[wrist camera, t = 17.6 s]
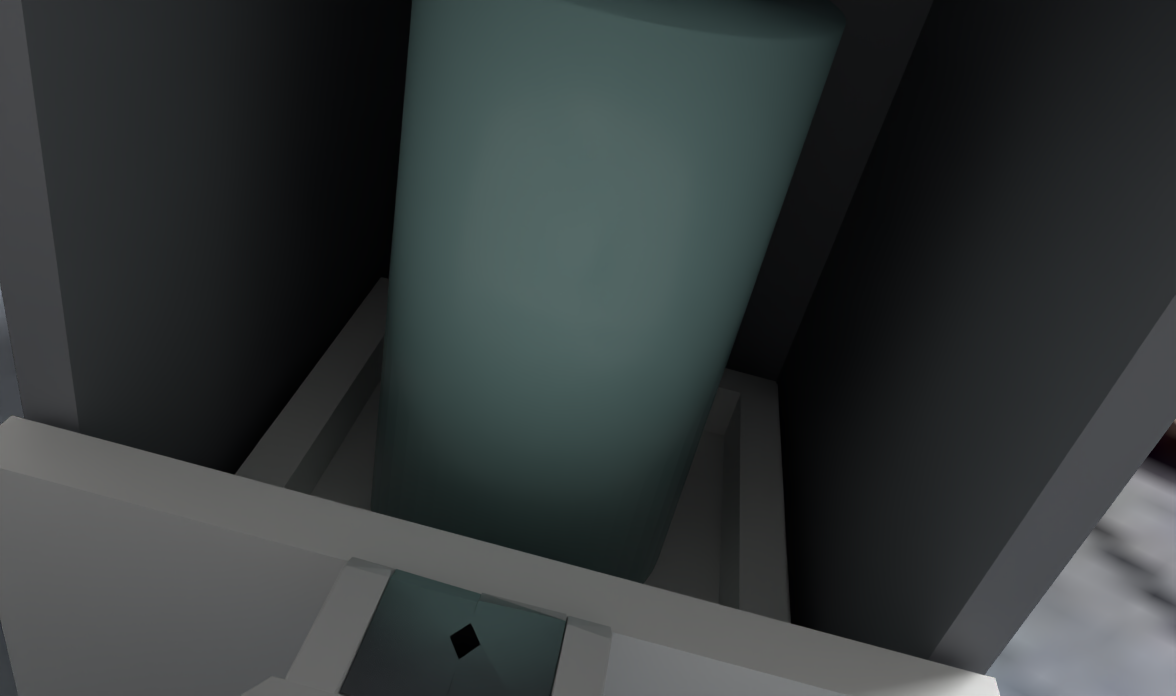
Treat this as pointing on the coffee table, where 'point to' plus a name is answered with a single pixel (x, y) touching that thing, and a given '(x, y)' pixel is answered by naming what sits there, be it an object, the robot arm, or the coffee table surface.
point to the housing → (774, 312)
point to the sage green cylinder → (580, 256)
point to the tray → (389, 558)
